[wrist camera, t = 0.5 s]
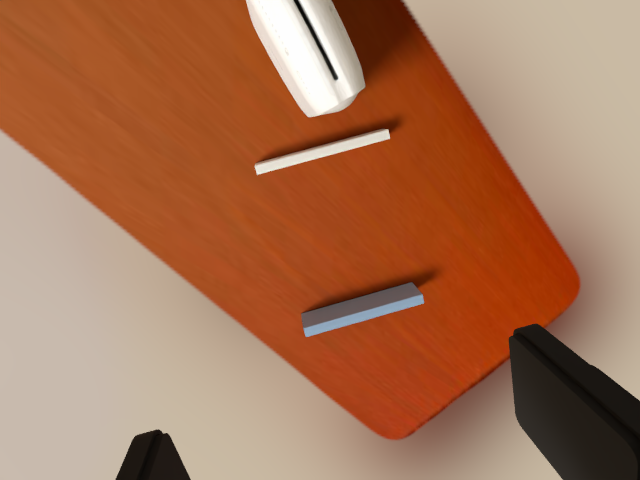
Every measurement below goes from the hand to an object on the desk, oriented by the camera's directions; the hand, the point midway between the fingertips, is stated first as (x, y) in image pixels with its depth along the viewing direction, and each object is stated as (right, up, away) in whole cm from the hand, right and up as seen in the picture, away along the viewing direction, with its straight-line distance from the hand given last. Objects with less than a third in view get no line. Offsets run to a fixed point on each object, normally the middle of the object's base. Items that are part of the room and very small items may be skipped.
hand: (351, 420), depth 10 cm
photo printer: (-3, +20, +23) cm, 31 cm away
